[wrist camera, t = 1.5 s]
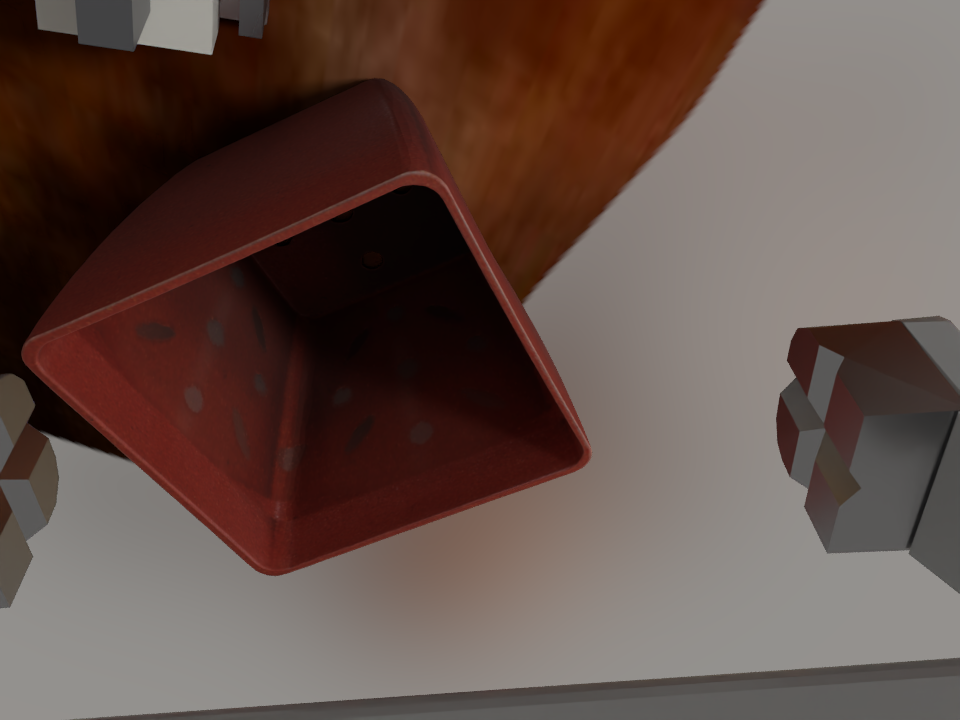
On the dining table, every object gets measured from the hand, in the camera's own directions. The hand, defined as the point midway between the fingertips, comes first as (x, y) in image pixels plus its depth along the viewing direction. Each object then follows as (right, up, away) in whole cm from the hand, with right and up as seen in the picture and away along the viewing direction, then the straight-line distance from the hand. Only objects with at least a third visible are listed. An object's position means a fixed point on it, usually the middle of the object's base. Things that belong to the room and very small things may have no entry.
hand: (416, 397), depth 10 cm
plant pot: (-8, +9, +44) cm, 45 cm away
